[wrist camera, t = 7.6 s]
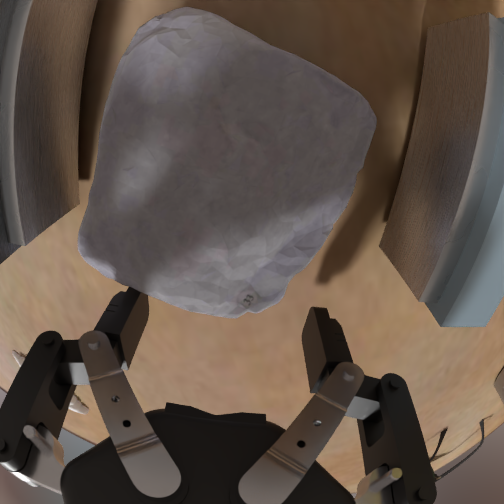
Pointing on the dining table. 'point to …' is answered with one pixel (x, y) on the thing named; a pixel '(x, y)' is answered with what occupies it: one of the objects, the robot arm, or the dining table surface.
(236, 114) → the stone block
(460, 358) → the dining table surface
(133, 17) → the dining table surface
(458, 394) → the dining table surface
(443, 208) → the block
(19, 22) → the block
